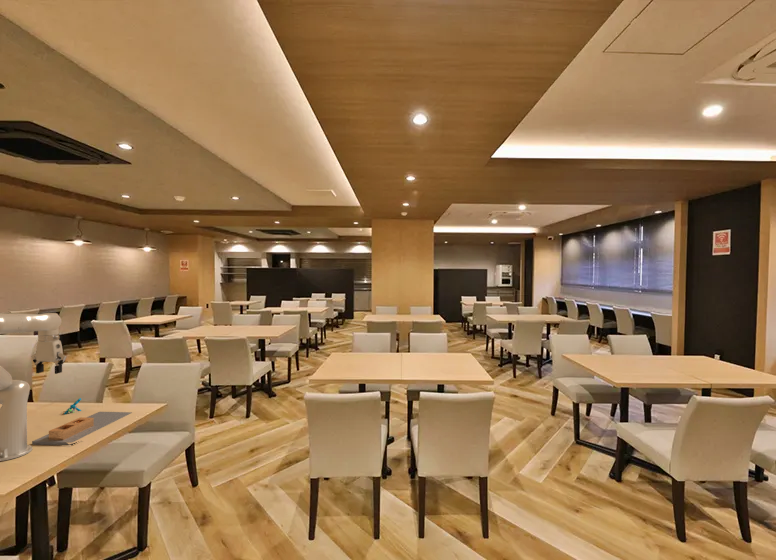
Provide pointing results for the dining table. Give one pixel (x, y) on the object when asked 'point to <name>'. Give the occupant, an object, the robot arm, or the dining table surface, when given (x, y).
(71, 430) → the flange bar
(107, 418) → the board
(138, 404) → the dining table surface
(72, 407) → the blue branched piece
